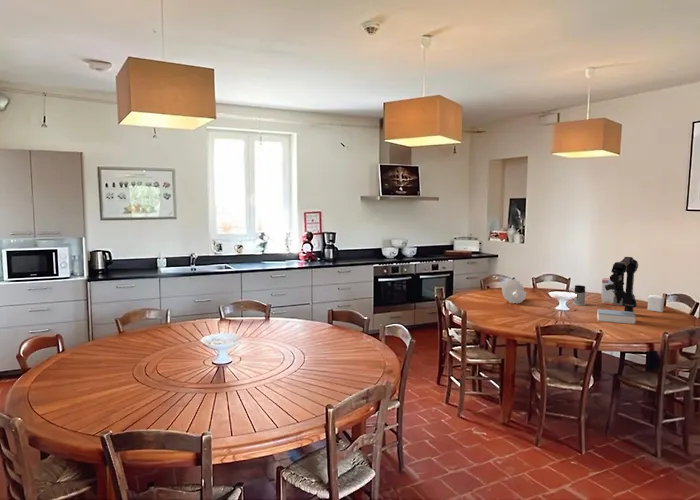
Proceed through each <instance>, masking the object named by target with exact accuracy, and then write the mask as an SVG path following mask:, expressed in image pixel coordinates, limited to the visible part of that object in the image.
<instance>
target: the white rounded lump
mask: <svg viewBox="0 0 700 500" xmlns="http://www.w3.org/2000/svg"><path fill="white" fill-rule="evenodd" d="M501 293H502V296H503V297H504V299H505V300H506V301H507V302H509V304H514V303H516V304H520V303H523V301H524V300H526V296H527V294H528V293H527V292H526V291H525V288H524V286H523V284H522V283H521V282H520V281H519V280H517V279H515V278H513V279H510V278H509V279H507V280H506V281H503V284H502V286H501Z"/></svg>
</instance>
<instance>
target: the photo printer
mask: <svg viewBox="0 0 700 500" xmlns="http://www.w3.org/2000/svg"><path fill="white" fill-rule="evenodd" d="M664 301H665V299H664V297H663V296H661V295H658V294H650V295H648V297H647V311H652V312H658V313H664V304H665V303H664Z"/></svg>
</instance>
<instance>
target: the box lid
mask: <svg viewBox="0 0 700 500" xmlns="http://www.w3.org/2000/svg"><path fill="white" fill-rule="evenodd" d="M596 311H598V313H599V314H603V315H615V316H626V317H635V318H636V315H635V314H634V311H633V312H627V311H624V310H613V309H600V308H597V310H596Z"/></svg>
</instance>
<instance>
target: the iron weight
mask: <svg viewBox="0 0 700 500" xmlns="http://www.w3.org/2000/svg"><path fill="white" fill-rule="evenodd" d="M622 302H623V298H622V299H621V301H620V303H619V304H618V303H617V298H616V297H613V304H614V305H613V306H616V305H620V306H619V307H623V306H622Z"/></svg>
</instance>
